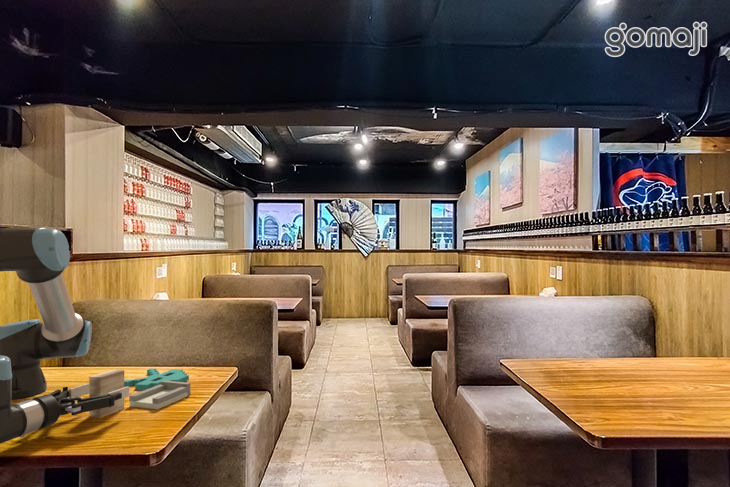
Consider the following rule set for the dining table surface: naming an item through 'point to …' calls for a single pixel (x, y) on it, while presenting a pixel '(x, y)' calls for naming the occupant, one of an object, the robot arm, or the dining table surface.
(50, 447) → the dining table surface
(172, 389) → the groove board
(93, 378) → the beige rectangular block
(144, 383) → the alien figure
